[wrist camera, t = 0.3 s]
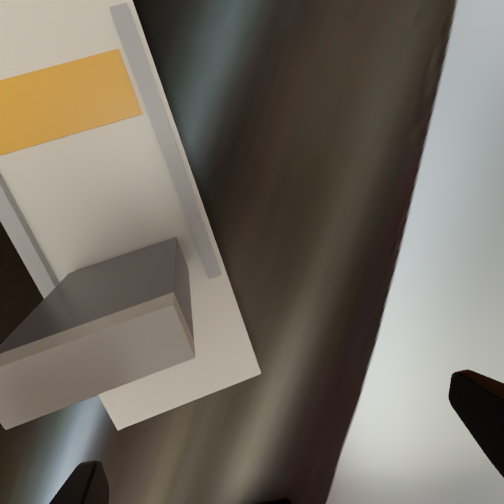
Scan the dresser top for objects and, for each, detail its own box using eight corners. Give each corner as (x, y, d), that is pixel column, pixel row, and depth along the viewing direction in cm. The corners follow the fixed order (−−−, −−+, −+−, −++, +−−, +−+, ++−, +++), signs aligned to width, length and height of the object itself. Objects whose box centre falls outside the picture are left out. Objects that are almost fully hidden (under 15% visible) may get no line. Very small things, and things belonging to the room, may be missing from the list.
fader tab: (188, 268, 19) (195, 357, 11) (85, 304, 19) (5, 429, 10) (176, 236, 19) (173, 304, 10) (68, 273, 18) (-32, 378, 9)
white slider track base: (253, 353, 25) (263, 379, 22) (123, 403, 24) (116, 437, 21) (125, -17, 17) (114, -52, 14) (-74, 32, 16) (-130, 5, 13)
